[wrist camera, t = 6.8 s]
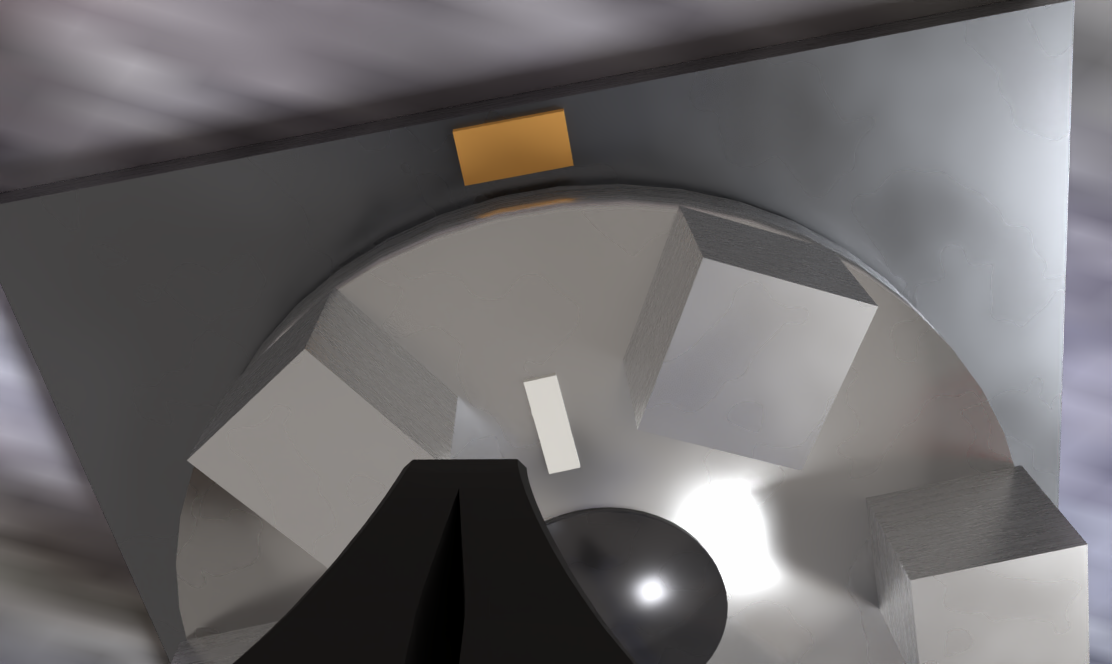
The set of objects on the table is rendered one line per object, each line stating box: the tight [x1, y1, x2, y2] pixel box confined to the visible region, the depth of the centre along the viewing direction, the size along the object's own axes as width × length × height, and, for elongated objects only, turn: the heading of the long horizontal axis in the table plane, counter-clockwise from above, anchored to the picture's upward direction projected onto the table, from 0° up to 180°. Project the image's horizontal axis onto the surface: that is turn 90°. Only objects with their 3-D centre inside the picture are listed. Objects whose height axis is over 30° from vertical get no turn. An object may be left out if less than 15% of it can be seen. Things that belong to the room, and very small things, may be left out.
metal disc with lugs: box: [171, 184, 1089, 664], centre depth 20 cm, size 17×17×4 cm
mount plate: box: [0, 0, 1075, 663], centre depth 22 cm, size 20×20×1 cm
